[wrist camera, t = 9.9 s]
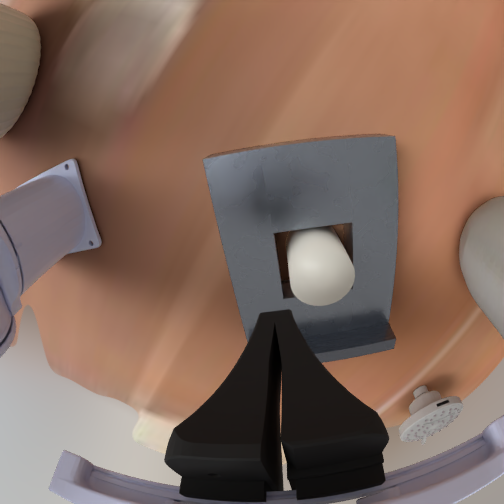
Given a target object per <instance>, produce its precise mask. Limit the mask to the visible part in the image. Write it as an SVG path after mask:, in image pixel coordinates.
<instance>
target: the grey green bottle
mask: <svg viewBox="0 0 504 504" xmlns="http://www.w3.org/2000/svg"><path fill="white" fill-rule="evenodd" d="M459 260H460V267H461V270H462V274H463V276H464V279H465V282H466V284H467V287H468V289H469V292H470V293H471V295H472V297H473V299H474V300H475V302H476V303H477V304H478V306H479V307H480V308H481V310H482V311H483V312H484V314H485V315H486V316H487V317H488V319H489V320H490V321H491V323H492V324H493V325H494V326H495V328H496V329H497V330H498V332H499V333H500V334H501V336H502V337H503V339H504V196H500V197H496V198H493V199H491V200H489V201H487V202H486V203H484V204H483V205H481V206H480V207H479V208H478V209H476V210H475V211H474V212H473V213H472V215H471V216H470V217H469V219H468V220H467V222H466V224H465V227H464V229H463V232H462V235H461V237H460V246H459Z"/></svg>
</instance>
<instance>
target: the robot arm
mask: <svg viewBox="0 0 504 504" xmlns="http://www.w3.org/2000/svg"><path fill="white" fill-rule="evenodd" d="M67 165H69V169H68V167H67ZM91 241H92V242H93V244H92V243H91ZM101 243H102V241H101V238H100V235H99V232H98V230H97V227H96V224H95V221H94V218H93V215H92V212H91V209H90V206H89V203H88V200H87V196H86V193H85V190H84V186H83V183H82V179H81V175H80V172H79V168H78V164H77V161H76V160H75V159H74V158H73V159H69V160H67V161H65V162H63V163H61V164H59V165H57V166H55V167H53V168H51V169H49V170H47V171H45V172H43V173H41V174H40V175H38V176H36V177H34V178H32V179H31V180H29V181H27V182H25V183H24V184H22V185H20V186H18V187H17V188H16V189H14V190H12V191H10V192H8V193H5V194H3V195H1V196H0V357H1V356H2V355H3V354H4V353H5V352H6V351H7V349H8V348H9V347H10V345H11V343H12V341H13V339H14V337H15V333H16V321H15V317H14V315H15V314H16V313H17V312H18V311H19V310H20V309H21V307H22V305H21V301H20V296H21V295H22V294H23V293H24V292H25V291H26V290H27V289H28V288H29V287H30V286H31V285H33V284H34V283H35V282H36V281H37V280H38V279H39V278H40V277H41V276H42V275H43V274H44V273H45V272H47V271H48V270H49V269H50V268H51V267H52V266H53V265H54V264H56V263H57V262H58V261H59V260H60V259H61V258H62V257H64V256H65V255H66V254H69V253H74V252H79V251H84V250H88V249H93V248H98V247H99V246H100V245H101ZM281 372H282V422H281V432H280V392H281ZM388 441H389V436H388V433H387V430H386V428H385V426H384V424H383V422H382V420H381V418H380V417H379V415H378V414H377V412H376V411H374V410H373V409H371V408H370V407H368V406H367V405H365V404H364V403H363V402H361V401H360V400H359V399H357V398H356V397H355V396H354V395H353V394H351V393H350V392H349V391H348V390H347V389H346V388H345V387H344V386H342V385H341V384H340V383H339V382H338V381H337V380H336V379H335V378H334V377H333V376H332V375H331V374H330V373H329V371H328V370H327V369H326V368H325V367H324V366H323V365H322V363H321V362H320V361H319V360H318V358H317V357H316V356H315V354H314V353H313V351H312V350H311V349H310V347H309V346H308V344H307V342H306V341H305V339H304V337H303V336H302V334H301V332H300V330H299V328H298V326H297V324H296V322H295V320H294V317H293V314H292V311H291V310H290V309H286V310H278V311H270V312H262V313H260V314H259V316H258V319H257V322H256V325H255V328H254V330H253V333H252V335H251V337H250V339H249V341H248V343H247V345H246V347H245V349H244V351H243V353H242V355H241V356H240V358H239V360H238V361H237V363H236V365H235V366H234V368H233V369H232V371H231V372H230V374H229V375H228V376H227V378H226V379H225V380H224V382H223V383H222V384H221V385H220V387H219V388H218V389H217V390H216V391H215V392H214V394H213V395H212V396H211V397H210V398H209V399H208V400H207V401H206V402H205V403H204V404H203V405H202V406H201V407H200V408H199V409H198V410H197V411H195V412H194V413H193V414H192V415H191V416H189V417H188V418H187V419H186V420H184V421H183V422H182V423H180V424H179V425H178V426H177V427H175V428H174V429H173V432H172V434H171V437H170V439H169V442H168V446H167V450H166V454H165V459H164V460H165V463H166V464H167V465H168V466H169V467H170V468H171V469H172V470H174V471H175V472H176V473H178V474H179V475H181V476H182V479H181V484H180V486H173V485H167V484H162V483H156V482H152V481H147V480H143V479H139V478H134V477H130V476H127V475H123V474H120V473H116V472H113V471H109V470H106V469H103V468H100V467H97V466H94V465H93V464H92V463H90V462H89V461H88V460H86V459H84V458H82V457H80V456H78V455H75V454H73V453H71V452H68V451H66V450H63V452H62V455H61V457H60V460H59V462H58V465H57V467H56V470H55V472H54V475H53V478H52V481H51V484H50V486H49V490H50V491H52V492H54V493H55V494H57V495H59V496H61V497H62V498H64V499H66V500H68V501H70V502H72V503H74V504H329V503H335V502H341V501H346V500H351V499H356V498H360V497H363V498H360V499H358V500H357V501H356V503H357V504H455V503H457V502H459V501H461V500H463V499H465V498H467V497H468V496H470V495H472V494H474V493H475V492H477V491H479V490H480V489H482V488H483V487H485V486H487V485H488V484H490V483H491V482H493V481H494V480H496V479H497V478H499V477H500V476H501V475H503V474H504V415H503V416H501V417H500V418H498V419H496V420H495V421H493V422H492V423H491V424H490V425H488V426H487V427H486V428H485V429H484V431H483V432H482V433H481V434H479V435H477V436H475V437H474V438H472V439H470V440H468V441H466V442H464V443H462V444H460V445H458V446H456V447H454V448H452V449H449V450H447V451H445V452H443V453H440V454H438V455H436V456H433V457H431V458H428V459H426V460H423V461H421V462H418V463H416V464H413V465H410V466H407V467H404V468H401V469H398V470H395V471H392V472H388V473H384V469H383V464H382V463H383V462H384V459H383V454H382V451H383V449H384V448H385V447H386V445H387V443H388ZM281 442H282V446H283V450H284V454H285V457H286V461H287V479H288V480H289V482H290V485H291V488H292V490H289V491H283V473H282V453H281ZM364 496H366V497H364Z"/></svg>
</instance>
